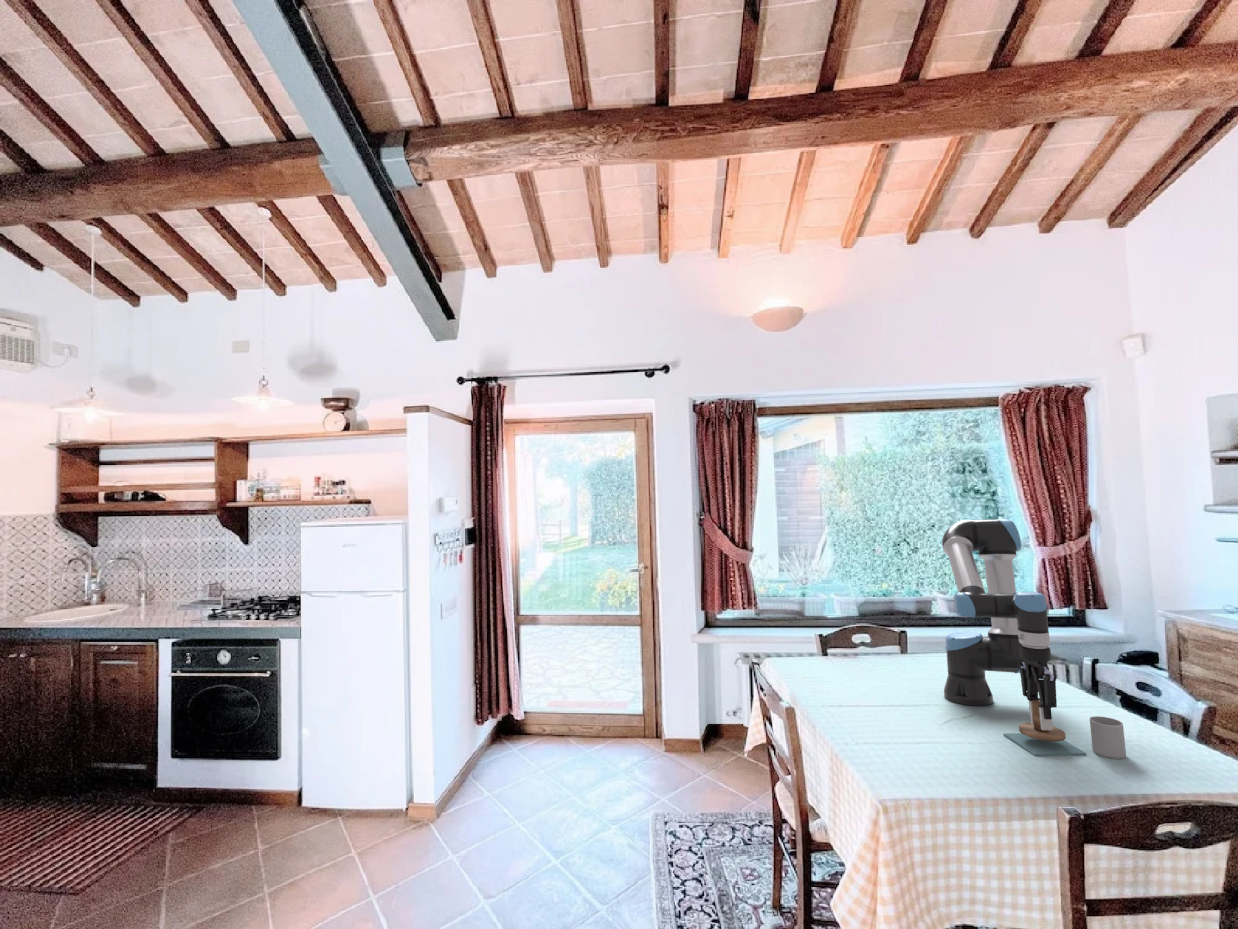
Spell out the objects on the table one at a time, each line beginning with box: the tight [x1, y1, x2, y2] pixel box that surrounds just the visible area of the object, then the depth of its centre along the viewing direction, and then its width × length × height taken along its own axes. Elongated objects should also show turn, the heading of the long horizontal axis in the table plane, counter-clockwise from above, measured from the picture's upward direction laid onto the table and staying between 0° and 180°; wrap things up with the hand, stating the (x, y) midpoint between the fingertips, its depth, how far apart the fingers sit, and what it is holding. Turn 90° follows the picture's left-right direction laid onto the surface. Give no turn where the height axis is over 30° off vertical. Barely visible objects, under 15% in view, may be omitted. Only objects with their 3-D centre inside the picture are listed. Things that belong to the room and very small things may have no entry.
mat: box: [1003, 732, 1087, 757], centre depth 166 cm, size 14×14×1 cm
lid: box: [1018, 700, 1067, 741], centre depth 166 cm, size 11×11×9 cm
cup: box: [1089, 715, 1127, 760], centre depth 160 cm, size 7×10×9 cm
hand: (1041, 726), depth 166 cm, fingers closed on lid, 3 cm apart
